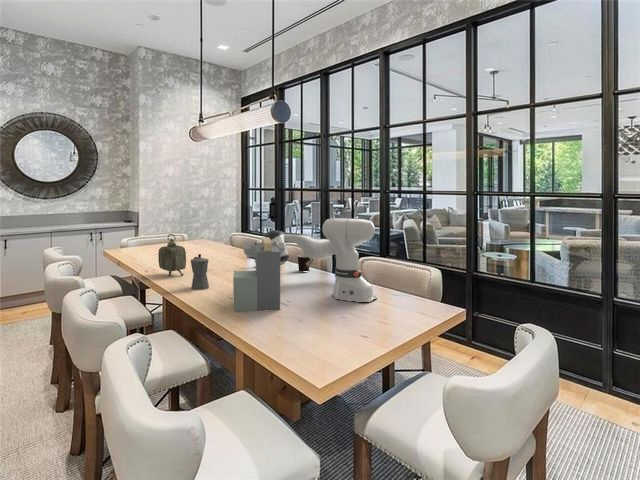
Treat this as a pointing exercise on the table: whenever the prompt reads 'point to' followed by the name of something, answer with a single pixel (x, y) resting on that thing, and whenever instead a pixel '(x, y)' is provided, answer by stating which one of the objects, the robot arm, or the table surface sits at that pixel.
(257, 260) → the step stand
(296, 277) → the table surface
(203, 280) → the coffeepot
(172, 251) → the tabletop clock
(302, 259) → the coffee mug
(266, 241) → the batten
